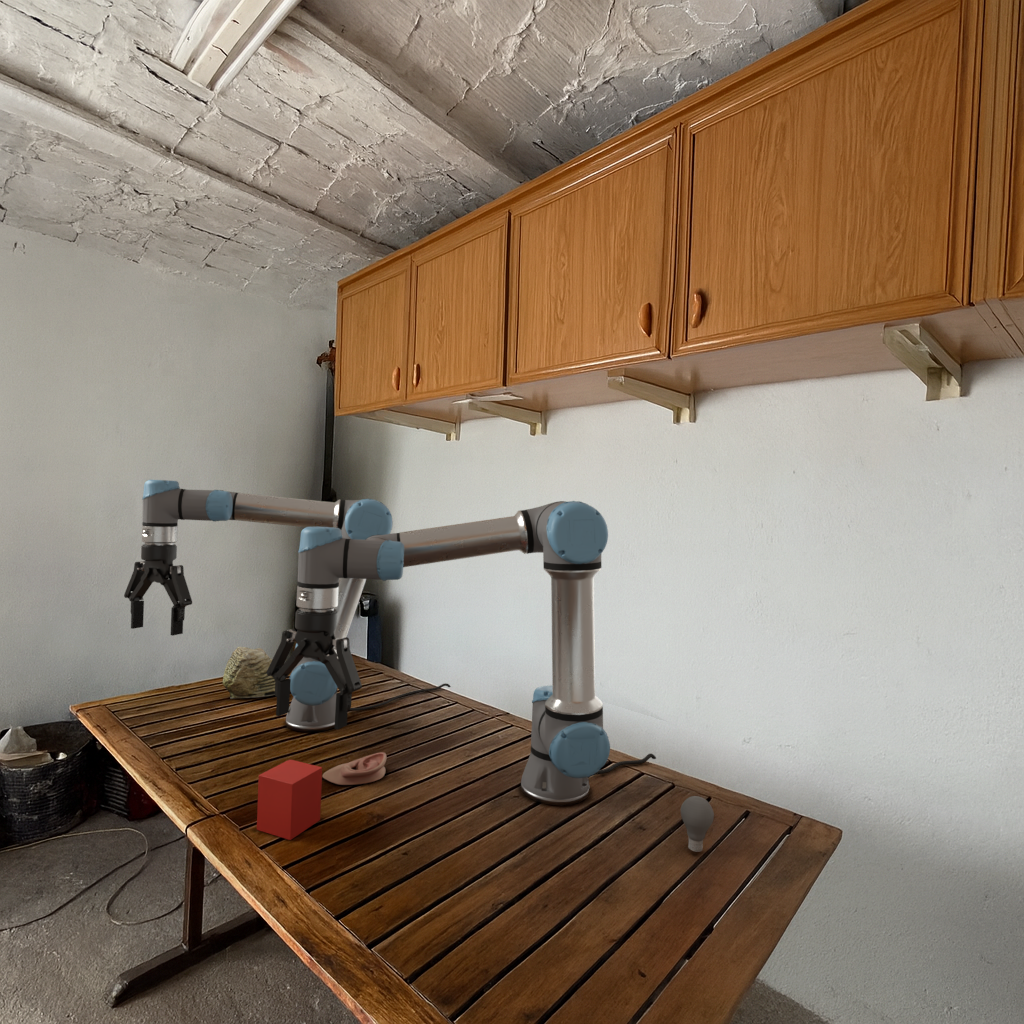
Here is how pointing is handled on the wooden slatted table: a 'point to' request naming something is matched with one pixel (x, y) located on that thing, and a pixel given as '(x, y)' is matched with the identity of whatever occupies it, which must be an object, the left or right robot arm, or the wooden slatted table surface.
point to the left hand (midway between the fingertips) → (156, 631)
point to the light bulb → (696, 820)
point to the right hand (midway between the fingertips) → (310, 720)
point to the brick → (289, 799)
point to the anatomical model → (358, 770)
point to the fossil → (248, 674)
